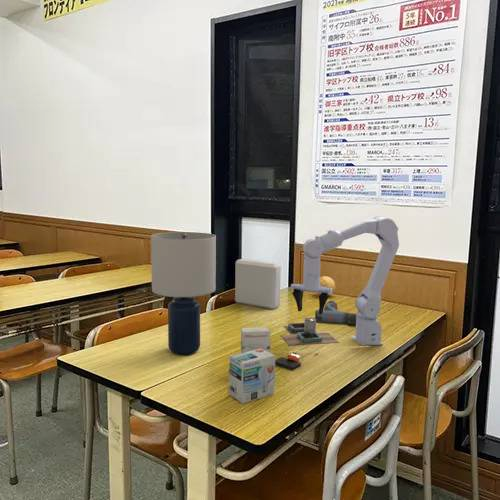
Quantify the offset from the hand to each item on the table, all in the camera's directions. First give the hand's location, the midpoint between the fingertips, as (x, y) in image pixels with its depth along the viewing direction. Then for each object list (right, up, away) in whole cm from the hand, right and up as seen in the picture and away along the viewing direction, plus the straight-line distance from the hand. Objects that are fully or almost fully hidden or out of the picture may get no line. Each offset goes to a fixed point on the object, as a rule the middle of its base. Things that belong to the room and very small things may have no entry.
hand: (310, 312), depth 164 cm
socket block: (-2, -9, +12) cm, 15 cm away
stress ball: (+15, -1, +66) cm, 67 cm away
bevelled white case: (-18, -3, +48) cm, 52 cm away
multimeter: (-7, -13, -14) cm, 21 cm away
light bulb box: (-21, -17, -40) cm, 48 cm away
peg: (0, -9, +1) cm, 10 cm away
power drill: (+16, -7, +30) cm, 34 cm away
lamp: (-43, -12, -10) cm, 45 cm away
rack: (0, -10, +1) cm, 10 cm away
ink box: (-20, -14, -22) cm, 32 cm away
